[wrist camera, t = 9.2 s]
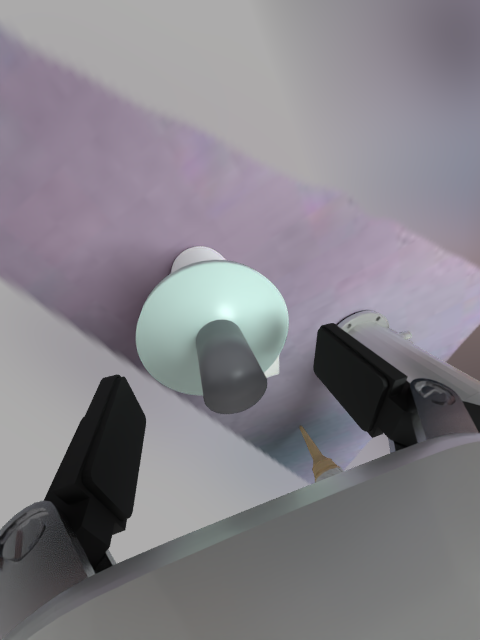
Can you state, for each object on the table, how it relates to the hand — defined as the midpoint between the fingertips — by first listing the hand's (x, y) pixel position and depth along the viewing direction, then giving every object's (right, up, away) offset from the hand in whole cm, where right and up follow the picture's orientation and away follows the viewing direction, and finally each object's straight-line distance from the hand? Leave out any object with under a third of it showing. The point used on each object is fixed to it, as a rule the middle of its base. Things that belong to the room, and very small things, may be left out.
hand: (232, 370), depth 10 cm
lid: (-1, +2, +3) cm, 4 cm away
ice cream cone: (+13, -20, +34) cm, 42 cm away
